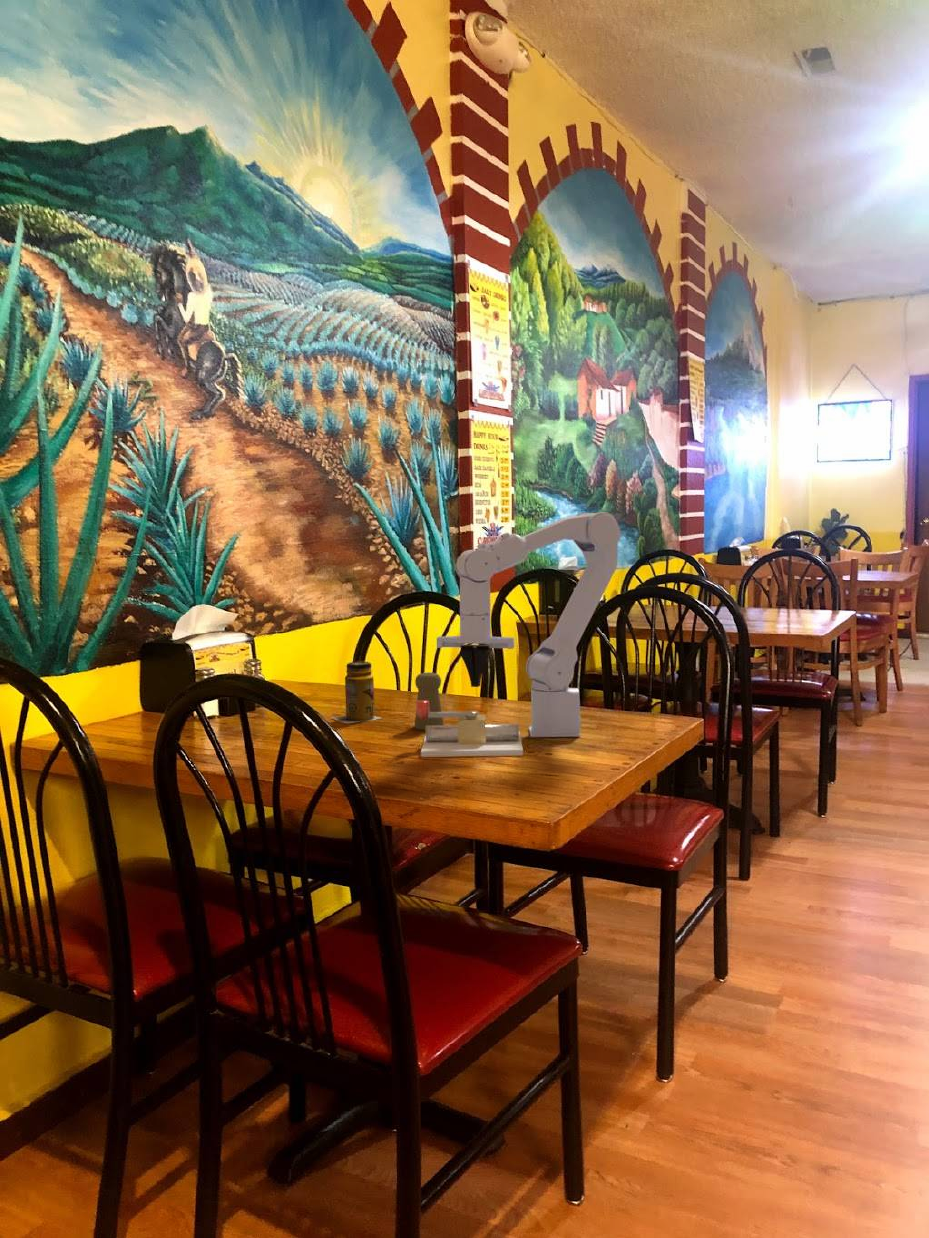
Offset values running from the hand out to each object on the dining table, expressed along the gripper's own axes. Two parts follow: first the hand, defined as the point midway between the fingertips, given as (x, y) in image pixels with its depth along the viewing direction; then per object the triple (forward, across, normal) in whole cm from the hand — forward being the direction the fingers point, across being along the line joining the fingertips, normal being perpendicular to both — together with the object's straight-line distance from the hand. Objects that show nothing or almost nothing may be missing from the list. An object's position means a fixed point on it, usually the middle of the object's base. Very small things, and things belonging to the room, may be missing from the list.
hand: (475, 686), depth 182 cm
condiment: (+11, +29, -17) cm, 36 cm away
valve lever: (+5, +4, +6) cm, 9 cm away
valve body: (+10, 0, +5) cm, 11 cm away
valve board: (+10, 0, +5) cm, 11 cm away
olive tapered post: (+11, +12, -11) cm, 19 cm away
